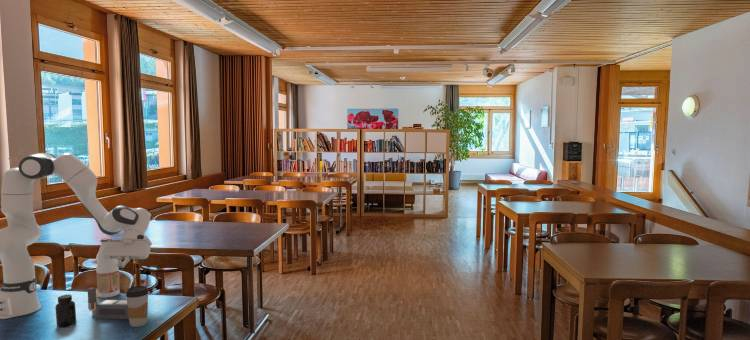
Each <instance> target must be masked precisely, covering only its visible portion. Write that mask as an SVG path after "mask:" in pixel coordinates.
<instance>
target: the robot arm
mask: <svg viewBox="0 0 750 340" xmlns="http://www.w3.org/2000/svg"><path fill="white" fill-rule="evenodd" d="M19 161H20V162H19V163H18V167H12V168H9V169H7V170H5V172H4V173H3V177H2V181H1V188H0V211H1V213H2V214H3V215H4V216H5V218H6V221H7V226H5V227H2V228H0V262H1V266H2V275H3V276H2V278H3V281H1V282H0V320H7V319H11V318H14V317H15V318H17V317H19V316H25V315H29V314H32V313H35V312H37V311H40V310H41V309H42V306H41V303H40V300H39V296H38V291H37V285H38V283H37V282H38V281H37V277H36V271H35V261H34V259H33V258H32V257H31V256H30V253H29V251H28V247H29V246H30V245H32V244H34V243H36V242H37V241H38V239H39V238H40V237H41V235H42V229H41V227H40V224H38V223H37V221H36V216H35V213H34V183H35V181H36V180H40V179H44V178H47V177H50V176H52V175H55V176H57V177H59V178H60V179H62V180H63V181H64V182H65V184H67V185H68V187H70V189H71V190H72V192H74V195H75V196H76V198H77V199H78V201H79V202H80V204H81V205H82V206H83V208H85V209H86V211H87V212H88V214H90V216H91V217H92V218H93V219H94V220H95V222H96V224H97V227H98V229H99V230H100V232H102V233H103V234H105V235H108V236H116V235H118V234H119V233H120V232H121V231H122V230H123V233H122V234H121V238H120V239H112V241H110V242H109V243H108V244H107V246H106V247H105V249H104V251H103V252H102V255H103V257H104V258H105V259H117V265H116V266H117V267H119V268H125V266H126V265H127V264H128V263H129V262H130V261H131V260H146V259H147V258H148V257H149V256H150V253H151V249H152V247H151V246H152V245H153V242H152V241H151V239H150V238H149V237H148V236H147V235H145V233H146V231H147V230H148V227H149V225H150V223H151V222H150V221H151V214H150V213H151V212H149V211H148V210H147V209H145V208H143V207H134V208H133V207H129V206H126V205H123V204H122V205H117V206H115V207H114V208H113V209H112V210H110V211H108V210H107V209H106V208H105V207H104V206H103V204H102V203H101V202H100V200H98V198H97V195H96V191H97V187H98V177H97V176H96V174H95V173H94V172H93V170H92V169H91V168H90V167H89V166H87V165H86V163H84V162H83V161H82V160H81V159H80V158H78V157H77V156H76V155H74V154H72V153H70V152H66V153H64V152H63V153H62V154H59V155H57V156H55V155H53V154H52V153H49V152H36V153H33V154H29V155H26V156H24V157H22V159H21V160H19ZM122 260H123V261H122Z"/></svg>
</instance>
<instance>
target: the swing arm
mask: <svg viewBox="0 0 750 340" xmlns="http://www.w3.org/2000/svg"><path fill="white" fill-rule="evenodd" d="M99 298H100V297H99V296H98V290H97V286H96V287H95V286H94V287H93V286H92V287H89V288H87V305H88V307H87V308H88V311H89V312H90V311H91V312H92V310H96V308H97V301H98V302H99Z"/></svg>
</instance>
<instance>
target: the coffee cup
mask: <svg viewBox="0 0 750 340" xmlns="http://www.w3.org/2000/svg"><path fill="white" fill-rule="evenodd" d="M125 296H126V300H127V307H128V315H129V319H128V320H129V321H128V322H129V325H130V327H133V328H138V327H142V326H145V325H146V324H147V322H148V311H149V307H148V306H149V302H148V301H149V300H148V299H149V289H148V286H146V285H136V286H132V287H131V286H130V287H129V288H128V289H127V290H126V292H125Z"/></svg>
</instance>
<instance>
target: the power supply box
mask: <svg viewBox="0 0 750 340" xmlns="http://www.w3.org/2000/svg"><path fill="white" fill-rule="evenodd" d="M91 312H92V314H91V315H92V316H91V317H93V318H95V317H96V319H98V320H99V319H101V320H102V319H104V320H105V319H106V320H107V319H108V320H111V319H112V320H129V315H128V307H127V299H121V300H120V299H103V300H102V301H101V302H99V300H98V301H97V308H96V310H91Z"/></svg>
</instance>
